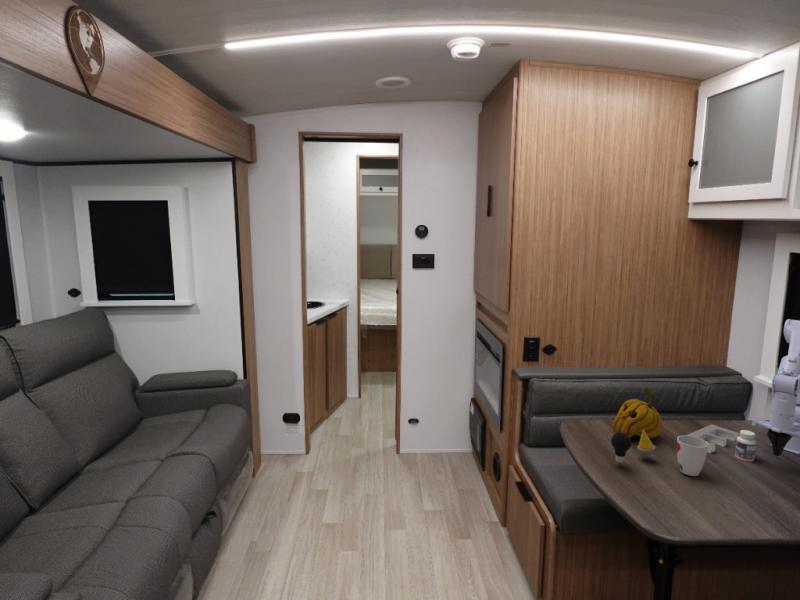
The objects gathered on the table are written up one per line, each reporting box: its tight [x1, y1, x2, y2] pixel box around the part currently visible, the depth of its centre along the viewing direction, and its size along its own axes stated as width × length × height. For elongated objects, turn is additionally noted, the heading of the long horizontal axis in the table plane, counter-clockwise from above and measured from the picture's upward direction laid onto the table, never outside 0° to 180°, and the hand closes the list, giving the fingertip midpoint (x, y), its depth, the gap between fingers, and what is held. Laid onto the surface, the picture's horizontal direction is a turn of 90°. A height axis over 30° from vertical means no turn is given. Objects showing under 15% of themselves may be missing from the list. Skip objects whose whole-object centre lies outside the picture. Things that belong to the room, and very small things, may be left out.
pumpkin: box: [611, 384, 663, 439], centre depth 171 cm, size 14×16×20 cm
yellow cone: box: [636, 429, 657, 459], centre depth 155 cm, size 5×5×10 cm
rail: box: [685, 424, 740, 454], centre depth 168 cm, size 20×9×2 cm, turn 123°
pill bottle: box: [734, 429, 757, 462], centre depth 155 cm, size 5×5×9 cm
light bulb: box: [610, 432, 632, 464], centre depth 151 cm, size 6×6×10 cm
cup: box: [676, 435, 708, 477], centre depth 146 cm, size 8×8×10 cm
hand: (777, 454), depth 148 cm, fingers closed
